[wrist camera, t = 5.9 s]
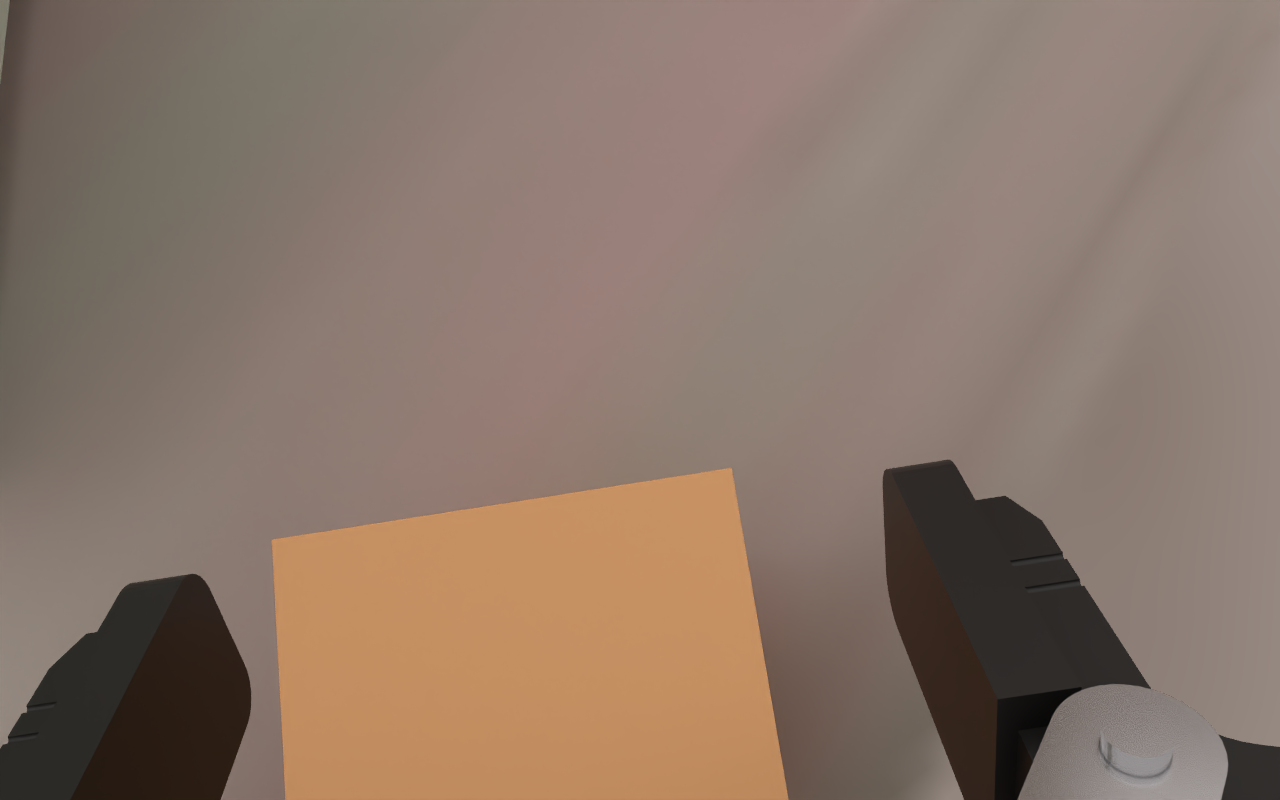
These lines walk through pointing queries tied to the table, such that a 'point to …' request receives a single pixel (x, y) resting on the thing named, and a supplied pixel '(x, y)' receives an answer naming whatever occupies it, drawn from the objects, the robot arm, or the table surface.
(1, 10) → the door
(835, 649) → the table surface
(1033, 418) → the table surface
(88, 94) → the table surface
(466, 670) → the block
